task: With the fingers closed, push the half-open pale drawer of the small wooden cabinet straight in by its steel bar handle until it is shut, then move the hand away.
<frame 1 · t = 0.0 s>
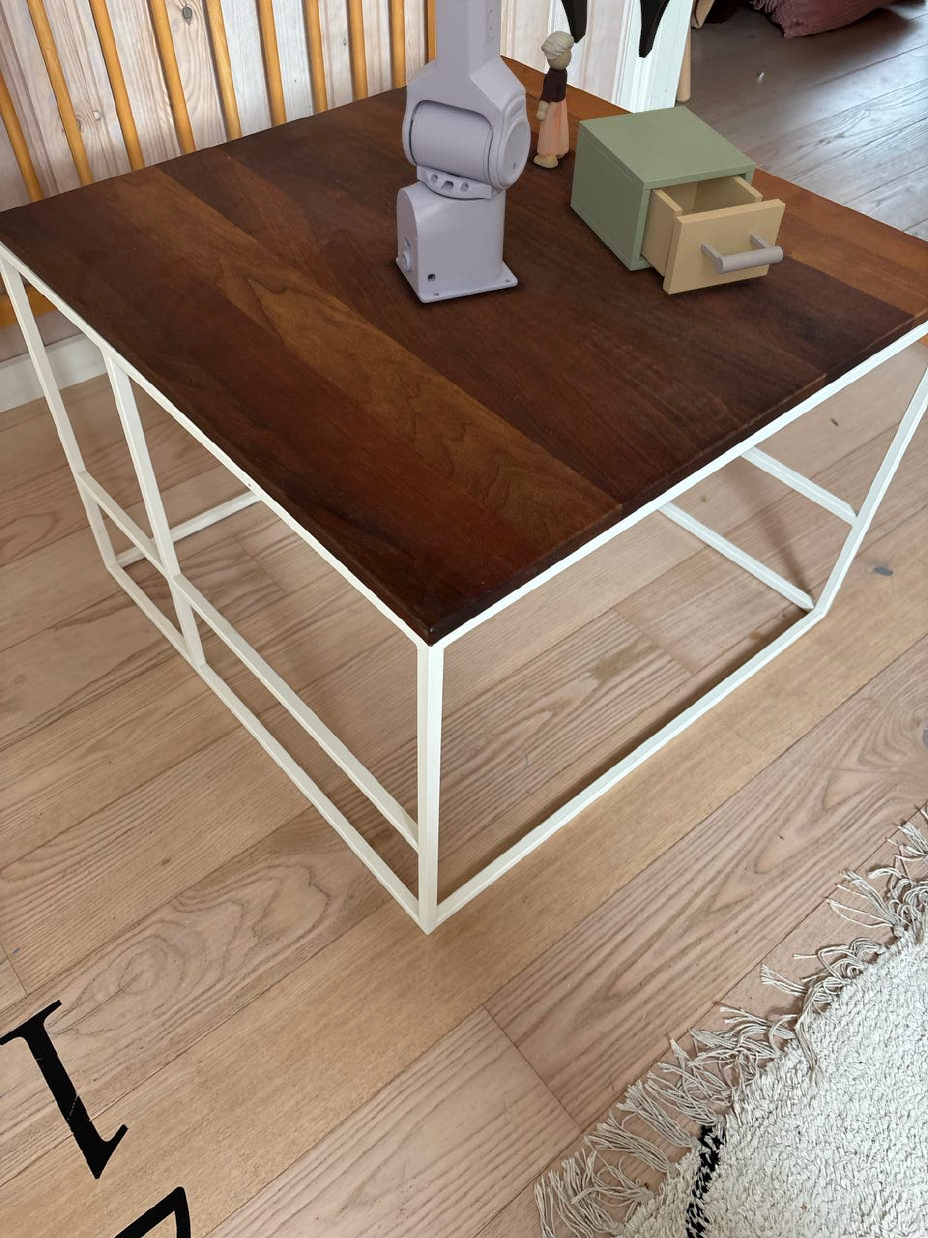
hand: (611, 45, 104), 11 cm above the table, tool pointing down, fingers open, 7 cm apart
grandmother figurine: (550, 158, 111), on the table
drawer: (703, 228, 92), point 4 cm above the table, slide at 5.0 cm
cabinet: (650, 227, 100), on the table
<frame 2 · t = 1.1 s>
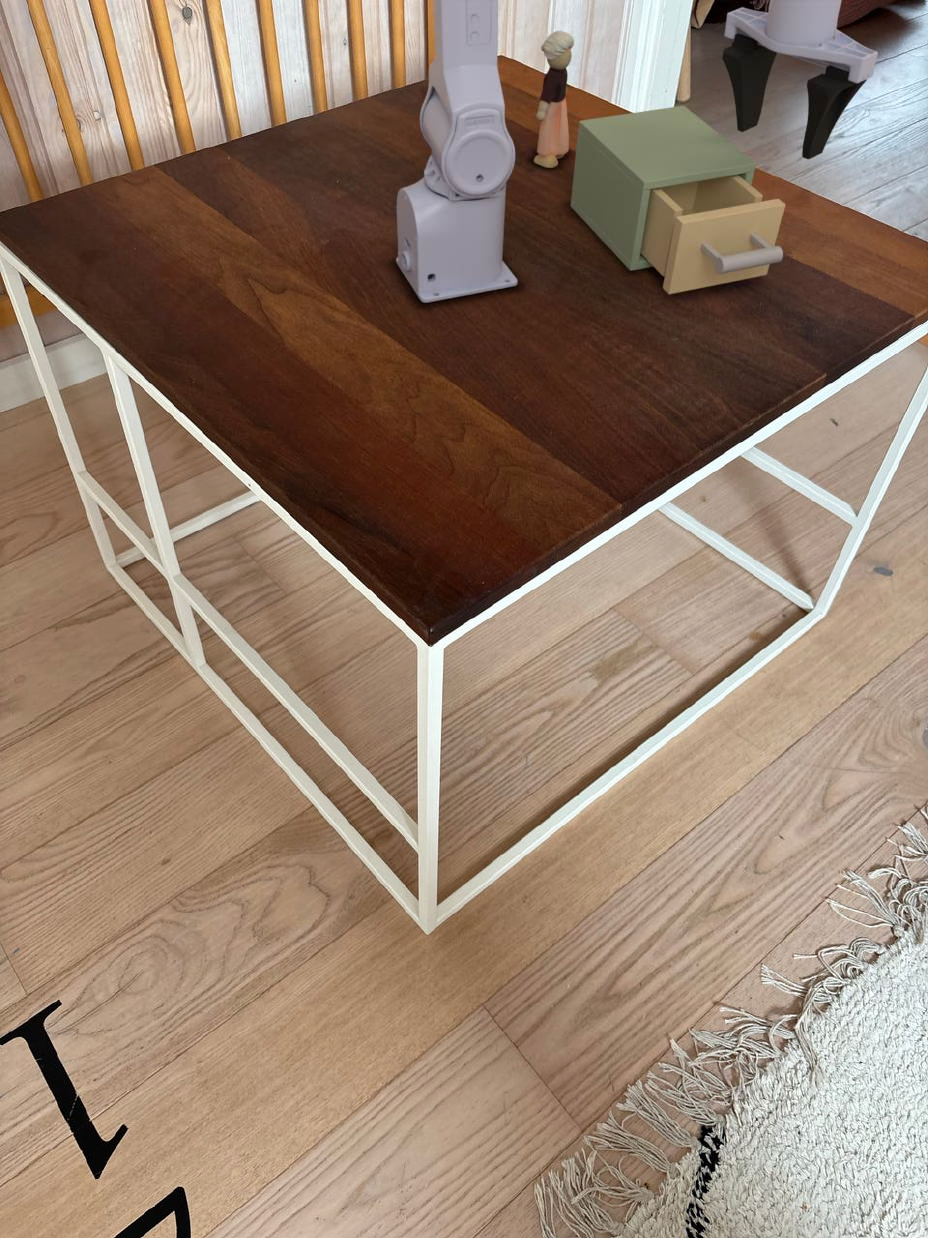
hand: (778, 140, 91), 10 cm above the table, tool pointing down, fingers open, 7 cm apart
nothing on the table moved.
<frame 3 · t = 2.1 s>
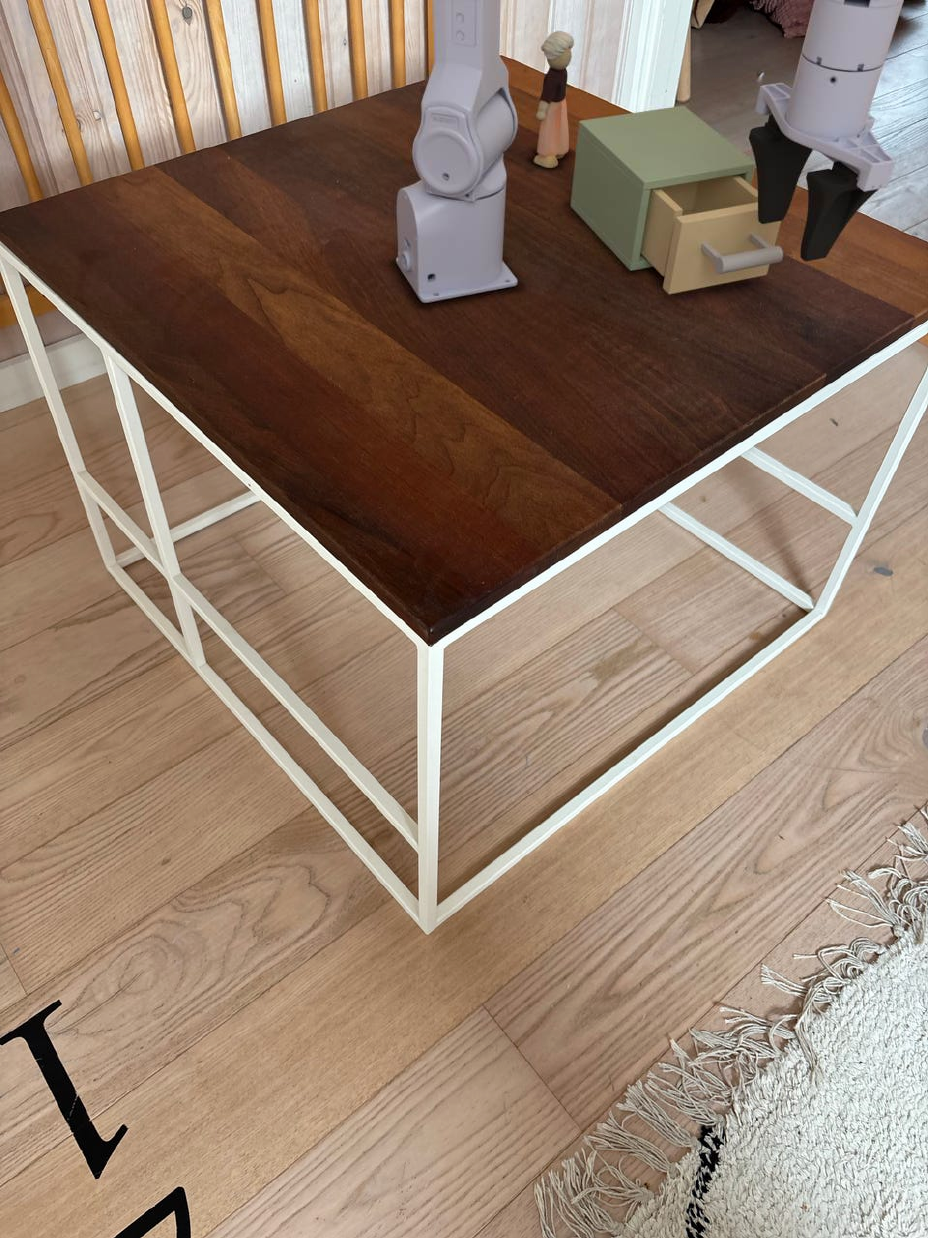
hand: (791, 238, 80), 9 cm above the table, tool pointing down, fingers open, 6 cm apart
nothing on the table moved.
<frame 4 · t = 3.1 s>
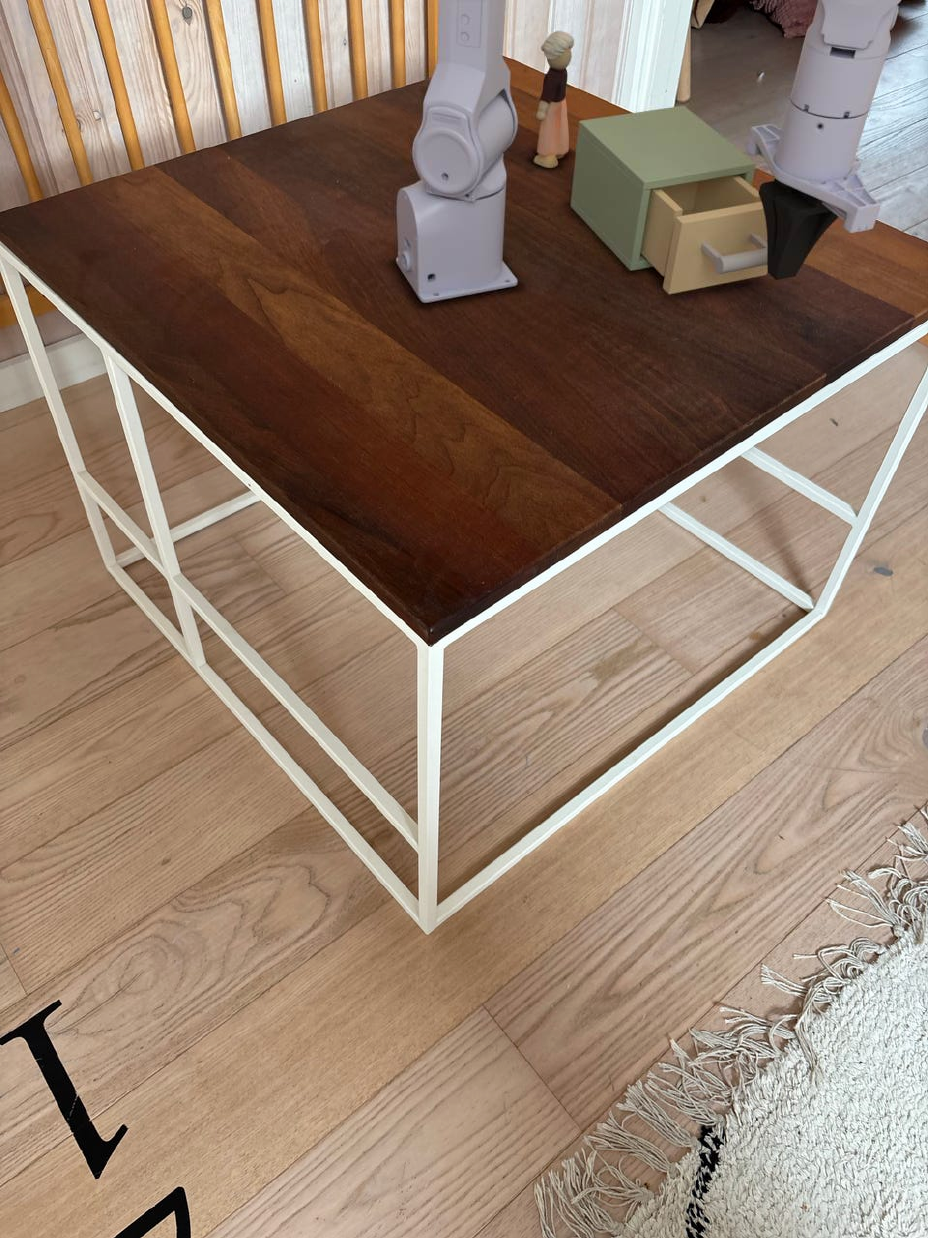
hand: (781, 273, 83), 6 cm above the table, tool pointing down, fingers closed
nothing on the table moved.
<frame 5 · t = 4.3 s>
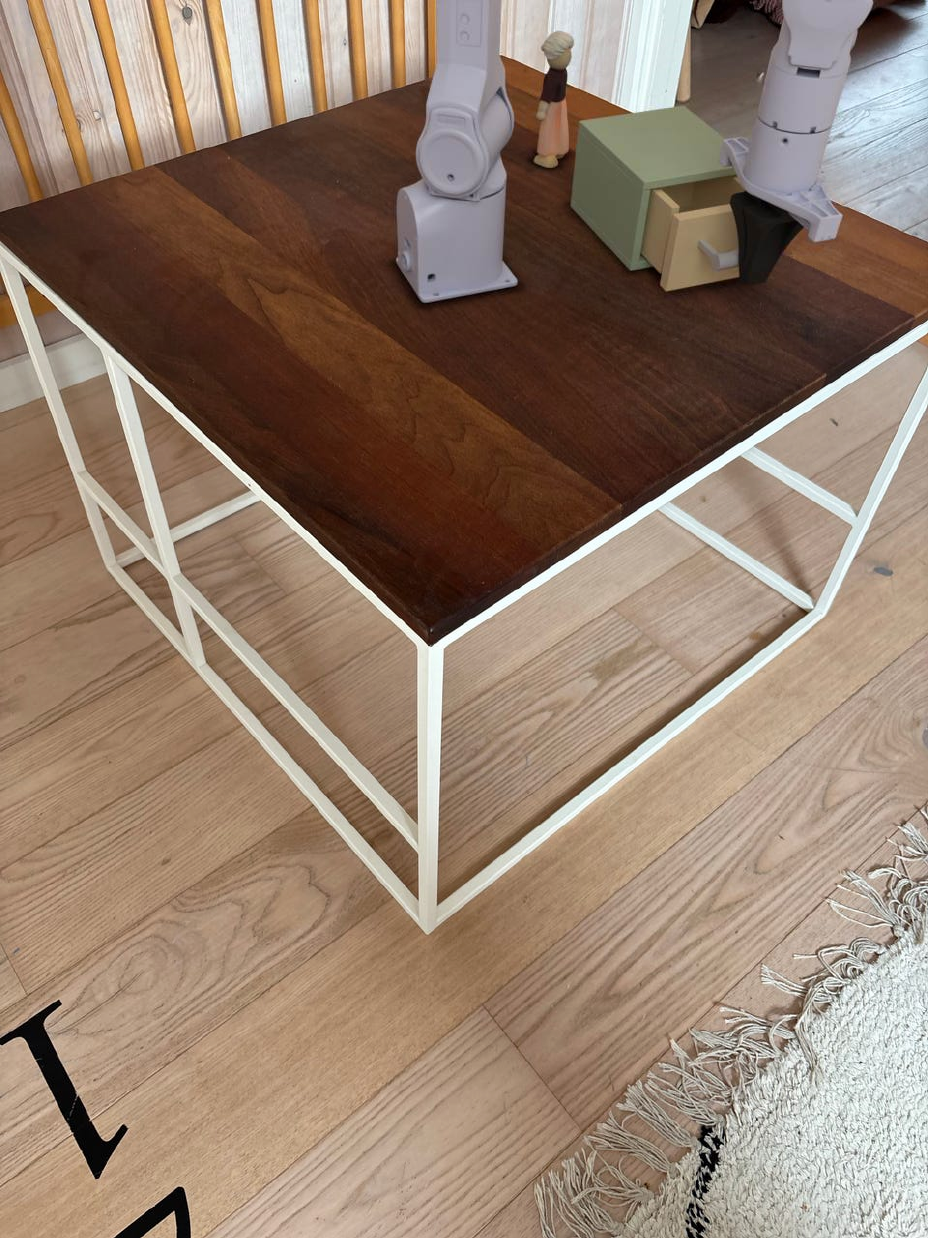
hand: (752, 280, 87), 4 cm above the table, tool pointing down, fingers closed
drawer: (700, 225, 92), point 4 cm above the table, slide at 4.5 cm, touching gripper
everything else where it was.
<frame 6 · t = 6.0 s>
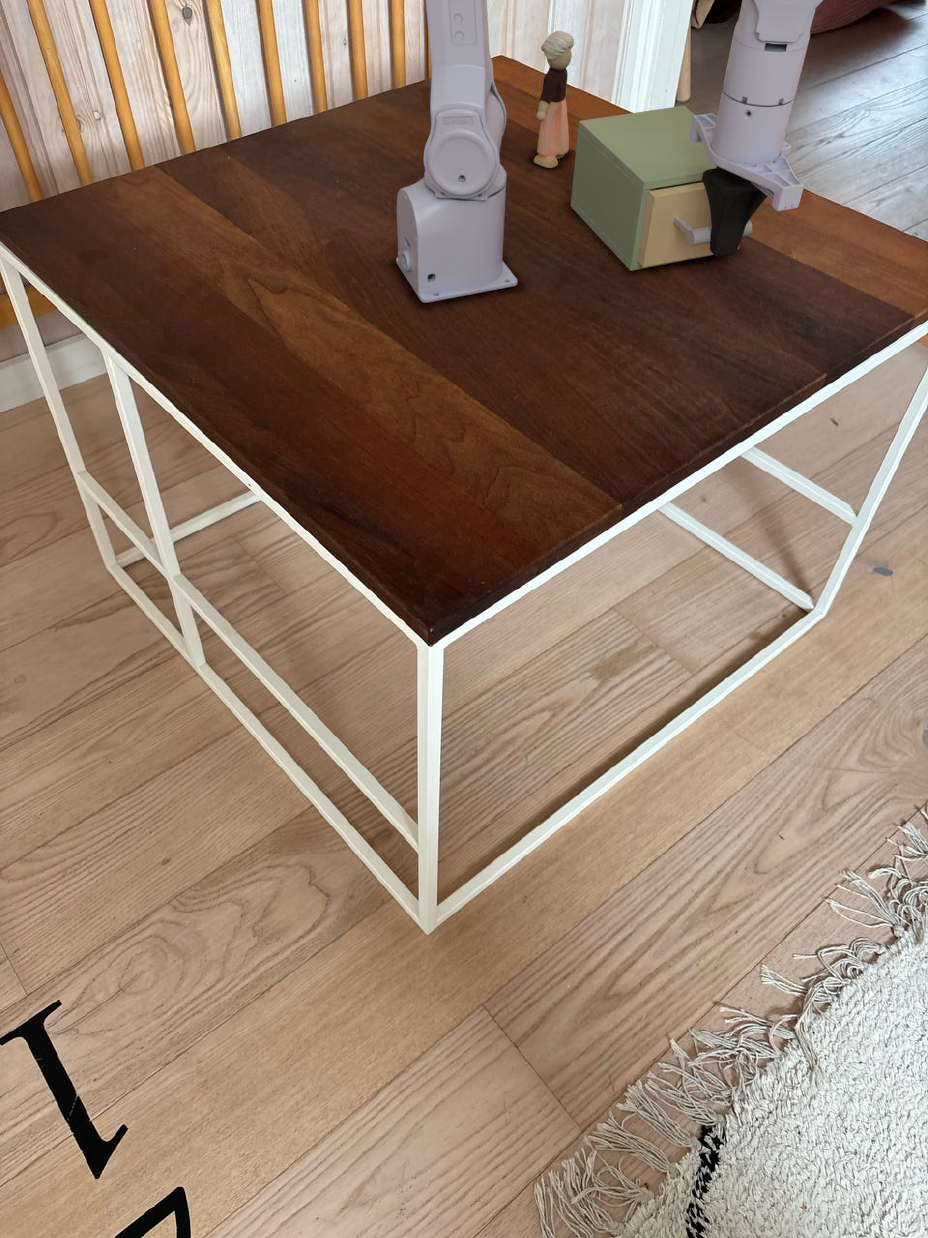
hand: (722, 251, 90), 4 cm above the table, tool pointing down, fingers closed, pressing on drawer
drawer: (676, 203, 95), point 4 cm above the table, slide at 0.0 cm, touching cabinet, gripper
everything else where it was.
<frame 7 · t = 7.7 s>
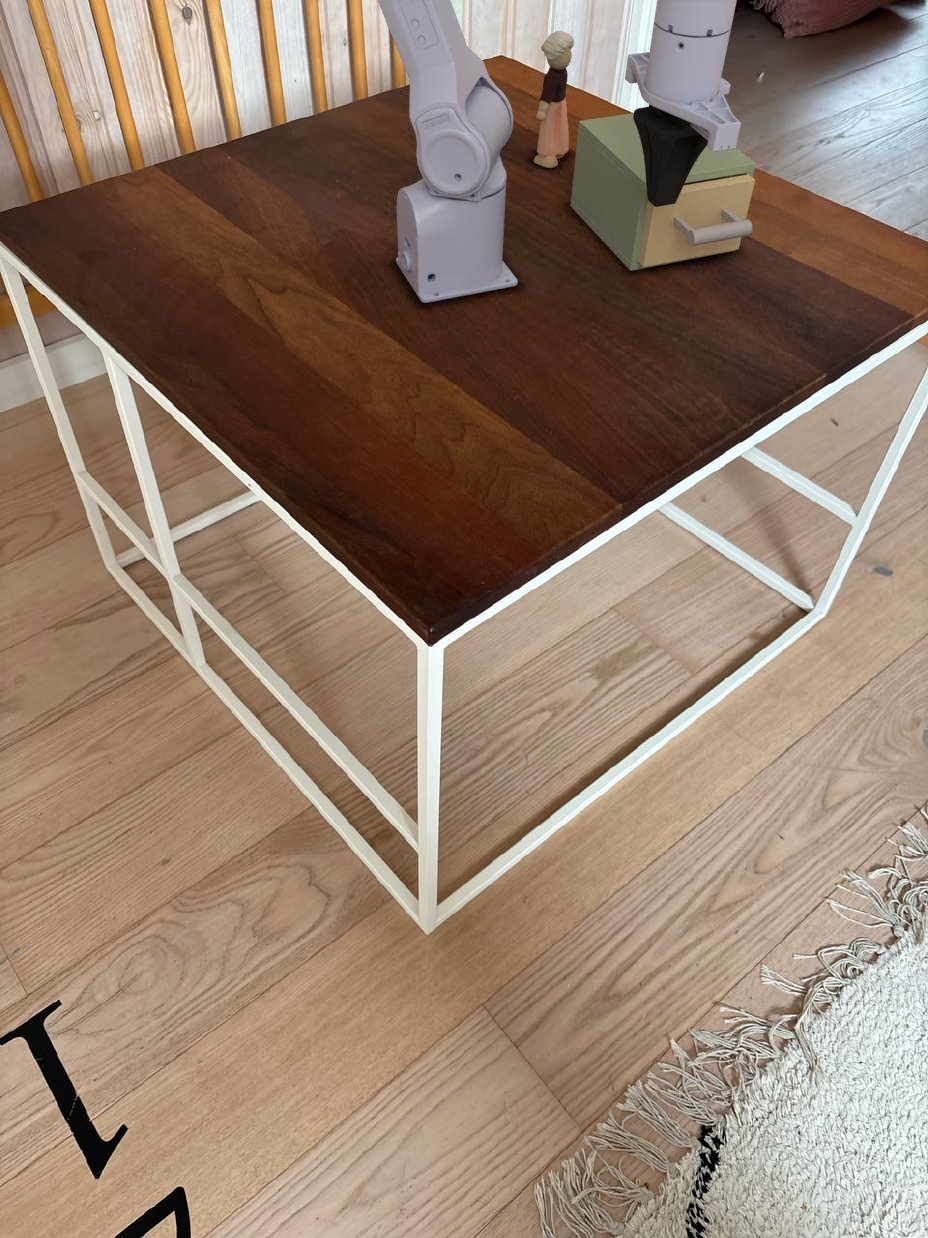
hand: (661, 201, 84), 9 cm above the table, tool pointing down, fingers closed
drawer: (676, 203, 95), point 4 cm above the table, slide at 0.0 cm, touching cabinet
everything else where it was.
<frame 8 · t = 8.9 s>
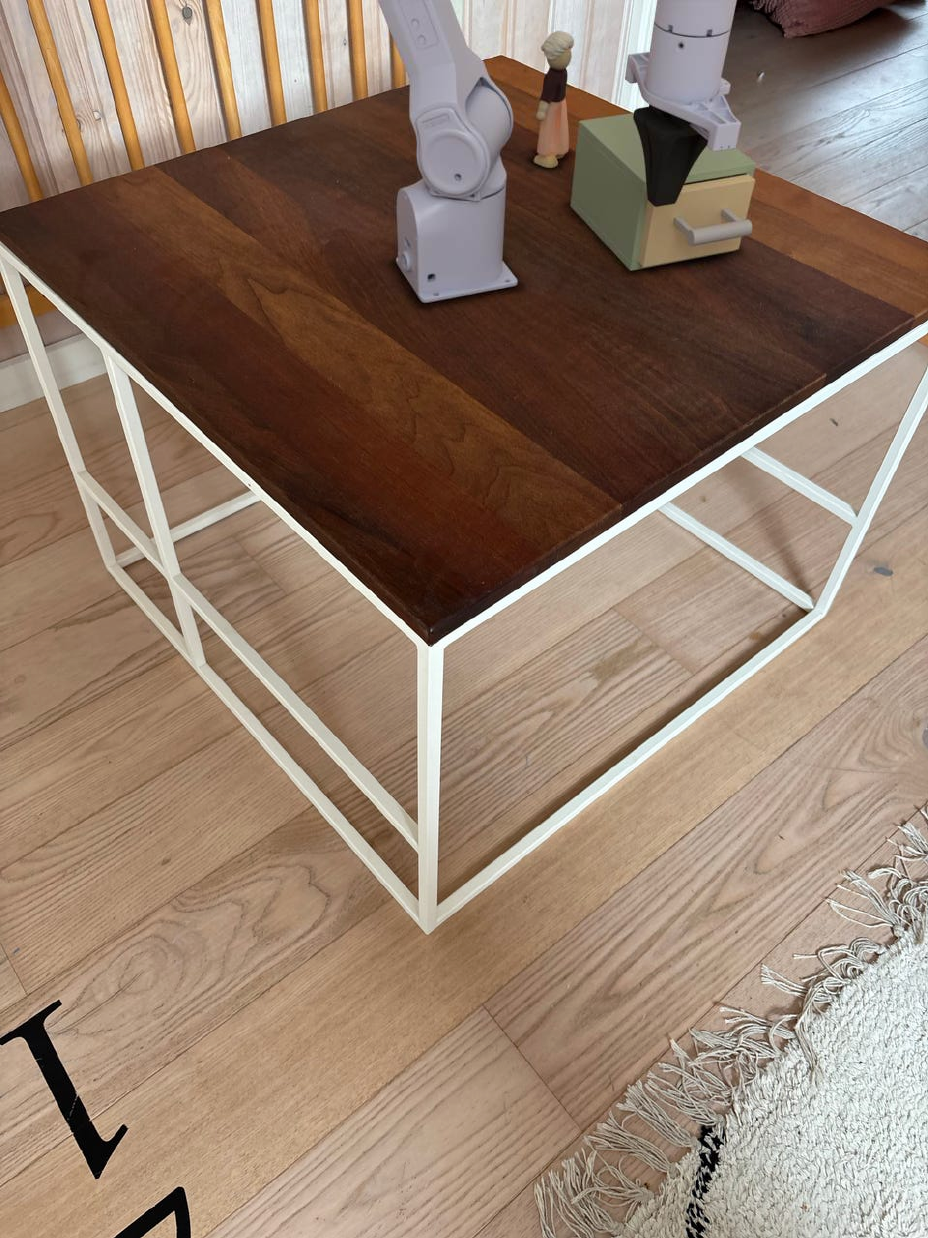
hand: (661, 201, 84), 9 cm above the table, tool pointing down, fingers closed
nothing on the table moved.
at the end: drawer slide at 0.0 cm; grandmother figurine moved 0.2 cm from its start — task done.
